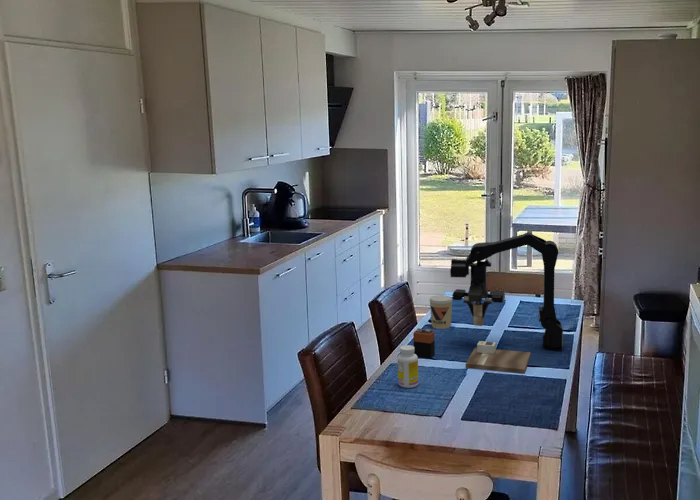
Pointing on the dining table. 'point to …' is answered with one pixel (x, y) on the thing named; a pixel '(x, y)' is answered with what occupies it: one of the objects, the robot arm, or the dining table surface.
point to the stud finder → (486, 347)
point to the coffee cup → (441, 311)
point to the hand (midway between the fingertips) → (478, 317)
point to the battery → (424, 343)
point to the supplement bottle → (407, 367)
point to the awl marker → (478, 314)
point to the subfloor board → (499, 361)
